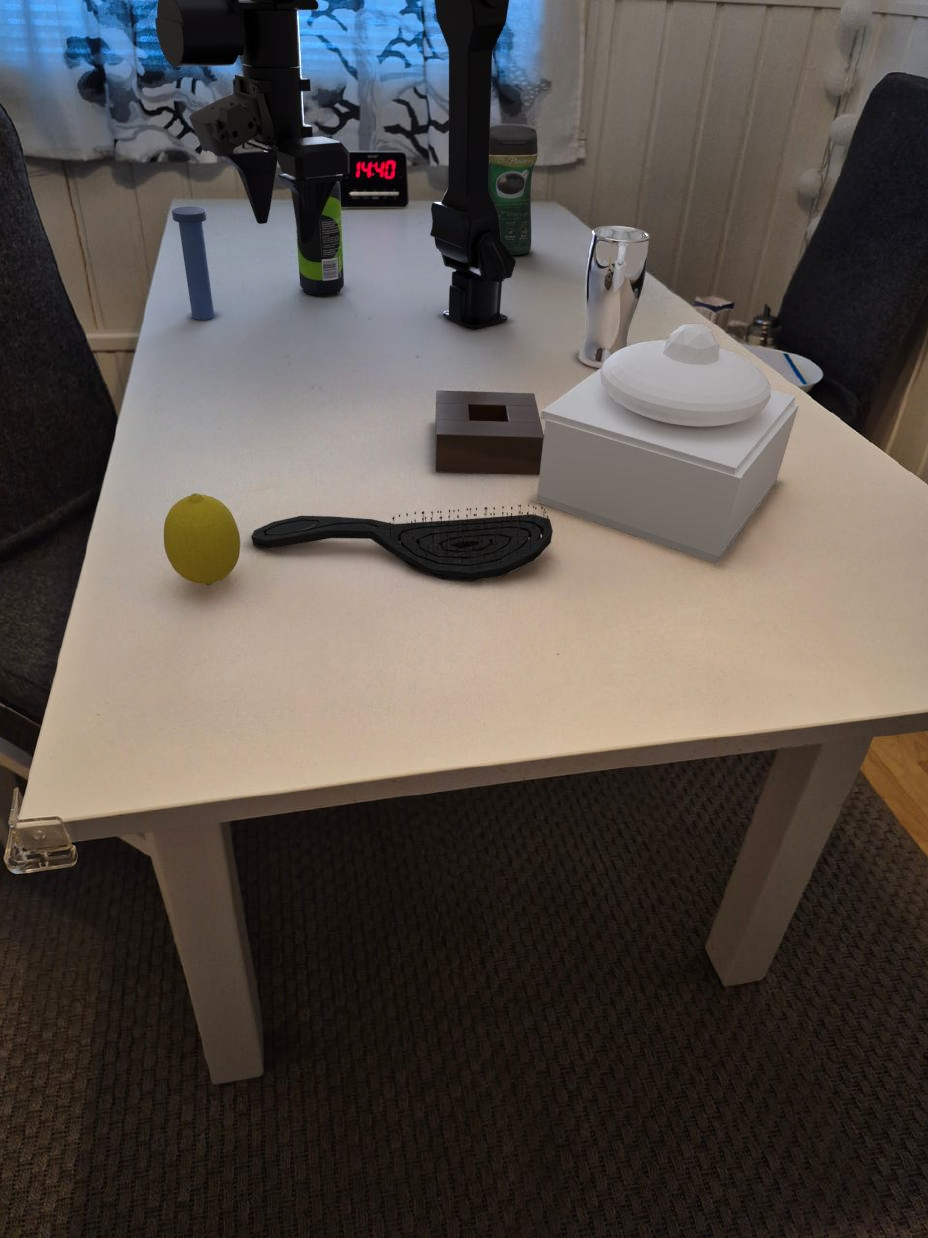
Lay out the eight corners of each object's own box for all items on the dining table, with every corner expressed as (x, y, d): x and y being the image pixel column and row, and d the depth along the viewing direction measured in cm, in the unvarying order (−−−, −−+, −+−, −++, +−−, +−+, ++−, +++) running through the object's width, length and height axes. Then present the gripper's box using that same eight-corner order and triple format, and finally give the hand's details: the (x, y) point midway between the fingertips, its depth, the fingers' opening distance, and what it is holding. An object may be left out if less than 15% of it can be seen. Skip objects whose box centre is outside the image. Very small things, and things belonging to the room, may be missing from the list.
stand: (435, 425, 93) (436, 389, 91) (530, 428, 94) (534, 392, 91) (435, 472, 85) (436, 434, 83) (540, 474, 86) (544, 437, 83)
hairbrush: (259, 487, 75) (551, 491, 75) (265, 524, 78) (549, 528, 77) (236, 540, 69) (556, 545, 68) (243, 579, 71) (553, 583, 70)
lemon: (179, 564, 71) (162, 476, 66) (249, 563, 71) (238, 476, 67) (166, 605, 67) (148, 514, 62) (241, 604, 67) (228, 514, 62)
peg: (210, 309, 118) (196, 204, 110) (224, 317, 116) (211, 211, 108) (182, 314, 116) (166, 208, 108) (196, 323, 113) (180, 215, 105)
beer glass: (637, 356, 111) (658, 230, 102) (621, 375, 106) (642, 244, 97) (585, 345, 114) (601, 221, 104) (567, 363, 108) (582, 234, 99)
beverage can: (348, 284, 129) (344, 171, 119) (339, 298, 124) (334, 181, 114) (306, 281, 129) (298, 168, 120) (295, 295, 124) (287, 178, 115)
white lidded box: (717, 564, 74) (765, 385, 65) (531, 500, 82) (549, 330, 72) (777, 482, 87) (824, 321, 77) (610, 432, 94) (634, 279, 84)
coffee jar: (521, 243, 150) (531, 119, 139) (535, 256, 144) (546, 128, 133) (466, 244, 148) (472, 119, 137) (477, 257, 142) (484, 128, 131)
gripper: (152, 54, 88) (175, 221, 97) (243, 79, 77) (259, 265, 86) (253, 53, 94) (265, 210, 103) (350, 76, 83) (354, 250, 92)
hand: (283, 232), depth 96 cm, fingers open, 9 cm apart
